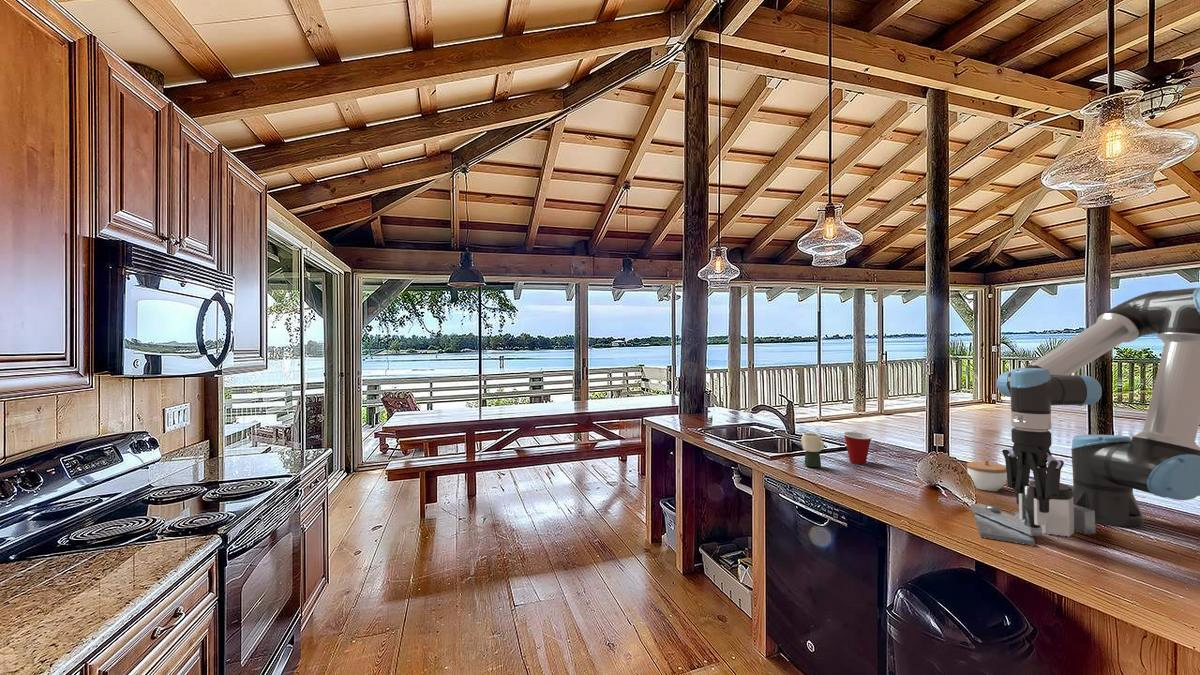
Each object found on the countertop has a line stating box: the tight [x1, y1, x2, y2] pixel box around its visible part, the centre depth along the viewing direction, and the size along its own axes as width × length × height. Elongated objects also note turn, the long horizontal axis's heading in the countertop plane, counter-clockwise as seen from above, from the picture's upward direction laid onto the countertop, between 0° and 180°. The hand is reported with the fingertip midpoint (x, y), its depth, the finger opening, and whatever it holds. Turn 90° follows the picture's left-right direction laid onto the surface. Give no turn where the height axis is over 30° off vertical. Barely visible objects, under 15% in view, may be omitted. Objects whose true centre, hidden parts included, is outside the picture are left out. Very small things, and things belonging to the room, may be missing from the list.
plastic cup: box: [842, 431, 873, 465], centre depth 196 cm, size 11×11×12 cm
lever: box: [970, 484, 1043, 537], centre depth 128 cm, size 18×5×12 cm, turn 4°
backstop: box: [1074, 505, 1096, 535], centre depth 127 cm, size 3×8×6 cm, turn 8°
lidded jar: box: [966, 460, 1007, 492], centre depth 161 cm, size 11×11×9 cm
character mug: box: [800, 432, 825, 468], centre depth 192 cm, size 11×7×13 cm, turn 24°
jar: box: [1029, 480, 1075, 538], centre depth 126 cm, size 9×8×12 cm
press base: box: [972, 511, 1036, 547], centre depth 128 cm, size 10×22×1 cm, turn 146°
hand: (1032, 521), depth 120 cm, fingers closed on lever, 3 cm apart
